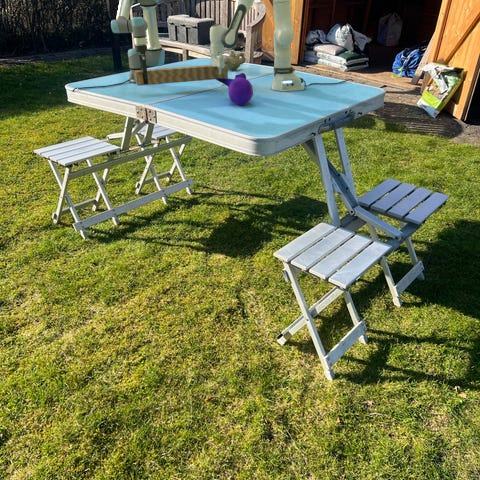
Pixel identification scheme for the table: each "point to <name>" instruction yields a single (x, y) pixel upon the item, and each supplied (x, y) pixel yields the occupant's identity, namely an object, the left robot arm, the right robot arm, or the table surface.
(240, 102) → the toy
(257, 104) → the table surface
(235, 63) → the teapot
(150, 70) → the bar
